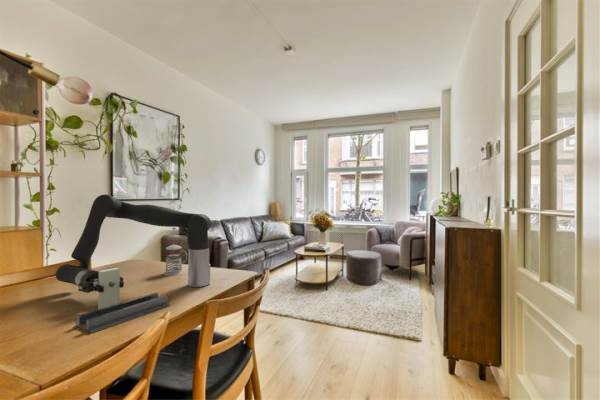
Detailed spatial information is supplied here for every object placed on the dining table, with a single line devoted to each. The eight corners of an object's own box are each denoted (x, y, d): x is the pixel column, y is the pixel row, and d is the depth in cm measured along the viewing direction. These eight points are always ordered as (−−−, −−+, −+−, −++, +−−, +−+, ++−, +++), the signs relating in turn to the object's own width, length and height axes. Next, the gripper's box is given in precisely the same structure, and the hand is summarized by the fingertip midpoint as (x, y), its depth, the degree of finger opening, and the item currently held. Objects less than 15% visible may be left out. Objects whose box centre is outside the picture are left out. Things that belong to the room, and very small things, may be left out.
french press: (164, 271, 155) (165, 226, 155) (187, 269, 159) (187, 226, 159) (162, 276, 146) (163, 228, 146) (186, 274, 150) (187, 227, 150)
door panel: (115, 304, 106) (116, 267, 106) (120, 306, 105) (121, 269, 105) (98, 309, 101) (98, 271, 101) (103, 311, 100) (103, 272, 99)
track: (153, 300, 111) (154, 291, 111) (169, 305, 106) (169, 296, 106) (75, 325, 88) (75, 314, 88) (90, 333, 83) (90, 322, 83)
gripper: (68, 274, 104) (90, 281, 96) (110, 266, 117) (133, 272, 108) (68, 294, 104) (90, 303, 96) (110, 284, 117) (132, 291, 108)
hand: (112, 287), depth 102 cm, fingers closed on door panel, 6 cm apart
